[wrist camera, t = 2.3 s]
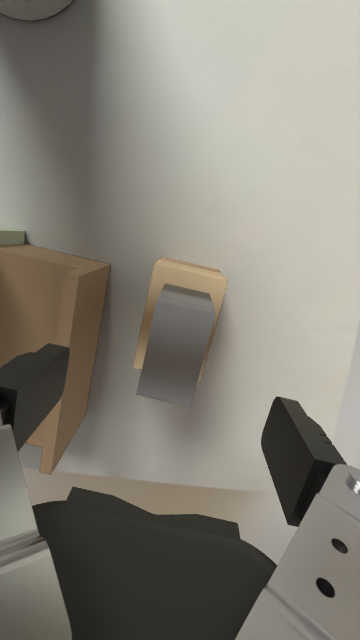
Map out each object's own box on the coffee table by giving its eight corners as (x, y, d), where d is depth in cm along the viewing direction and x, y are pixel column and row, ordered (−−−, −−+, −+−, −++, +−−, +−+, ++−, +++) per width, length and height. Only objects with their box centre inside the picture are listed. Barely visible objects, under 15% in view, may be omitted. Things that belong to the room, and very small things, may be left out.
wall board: (4, 226, 24) (-139, 220, 14) (112, 251, 25) (54, 264, 14) (-9, 403, 29) (-126, 503, 18) (83, 424, 29) (22, 534, 18)
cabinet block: (162, 256, 25) (141, 274, 14) (219, 270, 25) (240, 297, 14) (145, 338, 26) (115, 408, 16) (197, 350, 27) (203, 427, 16)
